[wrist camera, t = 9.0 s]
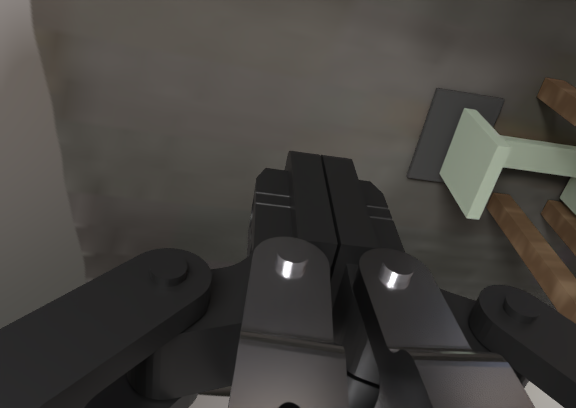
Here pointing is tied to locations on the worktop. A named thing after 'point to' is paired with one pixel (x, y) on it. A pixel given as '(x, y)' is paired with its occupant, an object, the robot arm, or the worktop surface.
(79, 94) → the worktop surface
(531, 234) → the tunnel
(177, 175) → the worktop surface
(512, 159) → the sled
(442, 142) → the pad
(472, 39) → the worktop surface
